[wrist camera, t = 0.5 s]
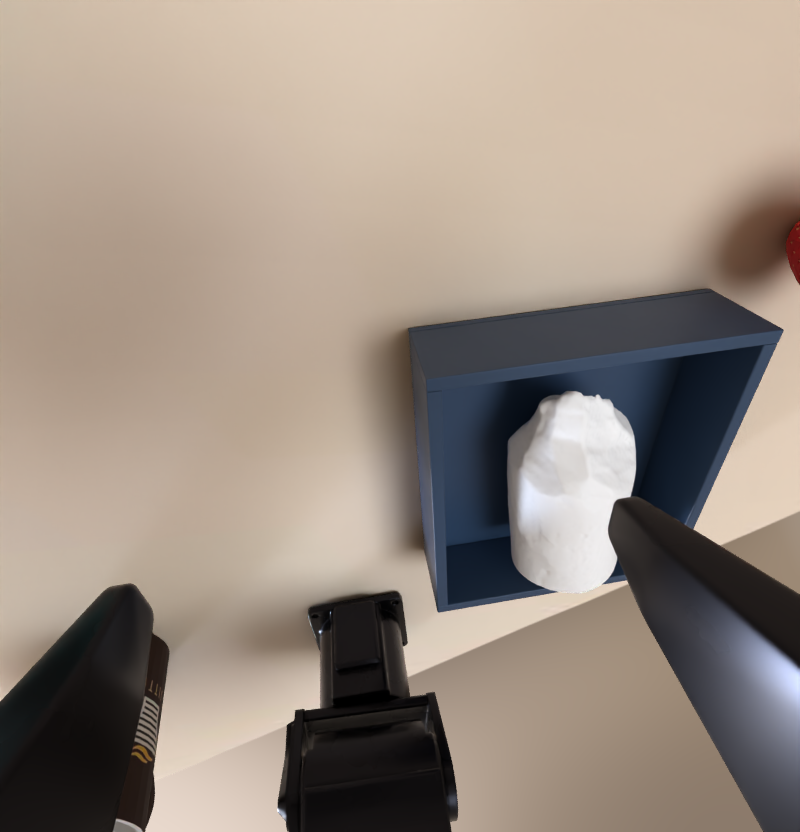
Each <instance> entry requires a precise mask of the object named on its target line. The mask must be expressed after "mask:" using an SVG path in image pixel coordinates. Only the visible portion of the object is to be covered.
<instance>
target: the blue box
mask: <svg viewBox="0 0 800 832" xmlns="http://www.w3.org/2000/svg"><path fill="white" fill-rule="evenodd" d="M408 331H409V345H410V359H411V373H412V387H413V401H414V414H415V428H416V442H417V456H418V470H419V483H420V497H421V511H422V525H423V539H424V551H425V555H426V560H427V565H428V569H429V574H430V579H431V583H432V588H433V592H434V597H435V602H436V606H437V611H438V612H444V611H450V610H456V609H462V608H468V607H474V606H479V605H485V604H491V603H497V602H503V601H509V600H514V599H520V598H526V597H532V596H538V595H544V594H549V593H555V592H557V591H553V590H549V589H546V588H544V587H542V586H539V585H536V584H535V583H533V582H531V581H529V580H528V579H527V578H525V577H524V576H523V575H522V574H521V573H520V572H519V571H518V570H517V568H516V567H515V565H514V563H513V560H512V555H511V538H510V524H509V508H508V483H507V457H508V440H509V438H510V437H511V436H512V435H513V434H514V433H515V432H516V431H517V430H518V429H519V428H521V426H522V425H524V424H525V423H527V422H528V421H529V420H530V419H531V417H532V416H533V415H534V414H535V412H536V410H537V408H538V405H539V403H540V402H541V400H543V399H544V398H546V397H548V396H551V395H561V394H563V393H564V392H565V391H577V392H580V393H582V395H583V396H593V397H595V396H596V395H600V397H601V398H602V399H610V401H611V402H612V404H613V406H614V408H616V409H617V410H618V411H620V412H622V414H623V415H625V416H626V418H627V419H628V421H629V423H630V425H631V428H632V431H633V434H634V439H635V448H636V473H635V480H634V484H633V489H632V492H631V496H630V497H632V496H637V497H640V498H642V499H644V500H646V501H647V502H649V503H651V504H652V505H654V506H656V507H657V508H659V509H660V510H662V511H664V512H665V513H667V514H669V515H670V516H672V517H674V518H675V519H677V520H679V521H680V522H682V523H683V524H685V525H687V526H688V527H690V528H692V529H693V528H694V526H695V524H696V522H697V520H698V517H699V515H700V513H701V511H702V509H703V506H704V504H705V502H706V500H707V498H708V495H709V493H710V491H711V489H712V487H713V484H714V482H715V480H716V478H717V476H718V473H719V471H720V469H721V467H722V465H723V462H724V460H725V458H726V456H727V453H728V451H729V449H730V447H731V445H732V442H733V440H734V438H735V436H736V434H737V431H738V429H739V427H740V425H741V423H742V420H743V418H744V416H745V414H746V412H747V409H748V407H749V405H750V403H751V401H752V398H753V396H754V394H755V392H756V390H757V387H758V385H759V383H760V381H761V379H762V376H763V374H764V372H765V370H766V368H767V365H768V363H769V361H770V359H771V357H772V354H773V352H774V350H775V348H776V345H777V343H778V342H779V340H780V337H781V335H782V333H783V331H784V330H783V329H782V328H780V327H778V326H776V325H774V324H773V323H771V322H769V321H767V320H765V319H763V318H762V317H760V316H758V315H756V314H754V313H753V312H751V311H749V310H747V309H745V308H744V307H742V306H740V305H738V304H736V303H735V302H733V301H731V300H729V299H727V298H726V297H724V296H722V295H720V294H718V293H717V292H715V291H713V290H711V289H703V290H695V291H688V292H680V293H672V294H665V295H657V296H650V297H642V298H635V299H627V300H619V301H612V302H604V303H597V304H589V305H581V306H574V307H566V308H559V309H551V310H543V311H536V312H528V313H521V314H513V315H506V316H498V317H490V318H483V319H475V320H468V321H460V322H452V323H445V324H437V325H430V326H422V327H415V328H409V329H408ZM625 580H627V579H626V576H625V574H624V572H623V569H622V567H621V565H620V562H619V560H618V558H617V562H616V565H615V568H614V571H613V572H612V574H611V576H610V577H609V578H608V579H607V580H606V581H605V582H604V583H603V584H608V583H613V582H619V581H625ZM601 585H602V584H601Z"/></svg>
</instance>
